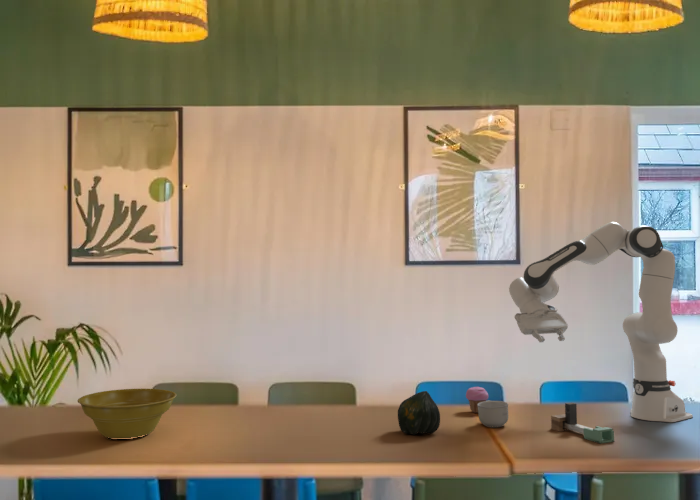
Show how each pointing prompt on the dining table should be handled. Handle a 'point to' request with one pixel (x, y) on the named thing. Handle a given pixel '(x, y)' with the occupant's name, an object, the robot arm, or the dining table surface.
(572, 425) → the two-tone rectangular rod
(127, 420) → the planter bowl
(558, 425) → the socket block
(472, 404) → the cupcake
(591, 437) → the green slotted block
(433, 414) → the squash
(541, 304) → the robot arm
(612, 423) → the dining table surface
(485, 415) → the teacup
